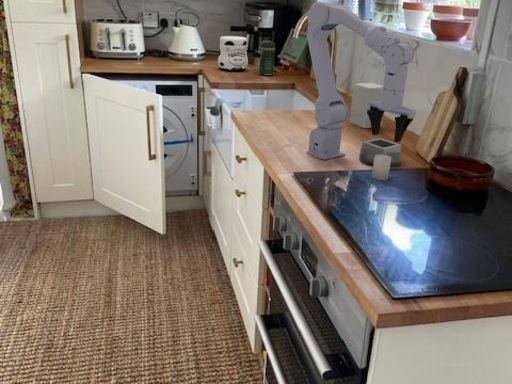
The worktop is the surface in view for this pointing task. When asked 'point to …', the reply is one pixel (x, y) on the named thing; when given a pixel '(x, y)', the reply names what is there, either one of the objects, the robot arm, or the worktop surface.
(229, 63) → the milk container
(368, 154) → the square tube on disc
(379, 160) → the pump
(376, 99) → the supplement box
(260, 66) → the coffee jar
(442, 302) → the worktop surface
